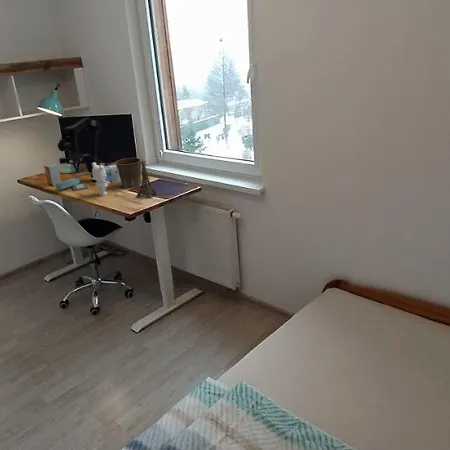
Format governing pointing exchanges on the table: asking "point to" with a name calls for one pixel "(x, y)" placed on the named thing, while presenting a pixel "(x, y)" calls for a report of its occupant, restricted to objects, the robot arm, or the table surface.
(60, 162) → the robot arm
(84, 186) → the label panel
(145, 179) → the eiffel tower
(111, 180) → the light bulb box
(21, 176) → the table surface
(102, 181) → the white bear figurine
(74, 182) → the swing arm
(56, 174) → the small box
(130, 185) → the plant pot
